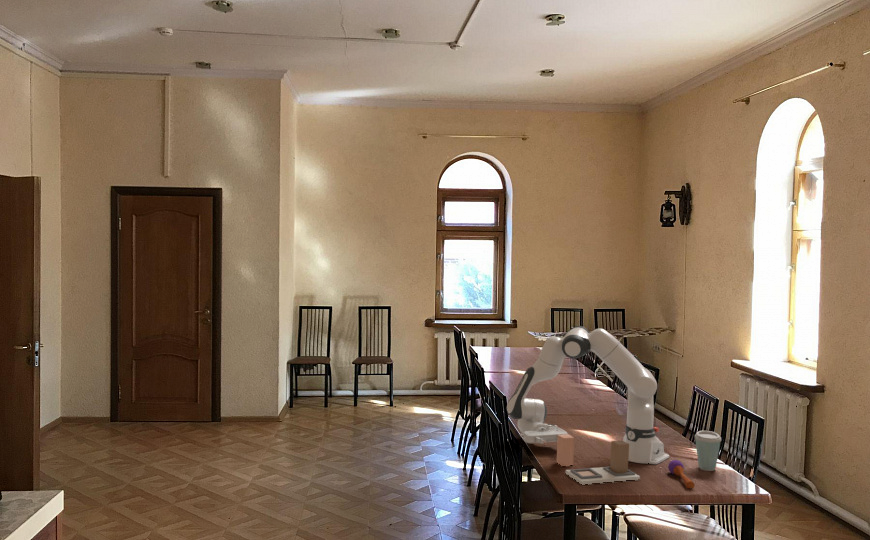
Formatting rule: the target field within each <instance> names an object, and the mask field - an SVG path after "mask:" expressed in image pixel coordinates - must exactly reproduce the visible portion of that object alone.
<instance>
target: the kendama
mask: <svg viewBox="0 0 870 540" xmlns="http://www.w3.org/2000/svg"><path fill="white" fill-rule="evenodd" d="M667 468H668V471H669V472H670V474H672V475H674V474H675V475H674V476H678V477H679V476H680V478H681V479H682V481H683V483H684V485H685V488H686V489H687V488H693V489H694V488H695V485H696V484H695V482H693V480H691V479H690V478H689V477H687V475H685V474H684V471H685V469H684V468H685V467H684V464H683V463H682V462H681V461H680V460H678V459H672V460H671V461H670V462H669V463H668V466H667Z"/></svg>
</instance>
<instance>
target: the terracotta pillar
mask: <svg viewBox="0 0 870 540" xmlns="http://www.w3.org/2000/svg"><path fill="white" fill-rule="evenodd" d="M556 445H557V447H556V464H557V463H558V464H557V465H559V464H560V465H561V466H560V465H559V466H560V467H562V466H566V467H571V466H570V465H573V466H574V452H575V451H574V450H575V437H574V436H572V435H571V434H570V433H568V434H564V435H558V442H557V444H556Z"/></svg>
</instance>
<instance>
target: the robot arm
mask: <svg viewBox="0 0 870 540" xmlns="http://www.w3.org/2000/svg"><path fill="white" fill-rule="evenodd" d="M590 352H592V353H594V354H595V355H596V356H597V357H598V358H599V359H600V360H601V361H602V362H603V363H604V364H605V365H606V366H607V367H608V368H609V369H610V370H611V371H612V372H613V373H614V374H615V375H616V377H618V378H619V380H620V381H621V382H622V383H623V384H624V385H625V387H627V412H626V424H625V427H624V428H625V429H624V431H625V433H624V435H623V438H622V441H624V442H626V443H628V444H629V458H628V462H632V463H636V464H648V463H649V464H651V465H658V464H660V463H662V462H664V461H666V460H668V459H669V458H670V455H669V454H668V453H666V452H665V445H664V443H663V442H662V441H661V440H660V439H659V438H658V437H657V436H656V433H659V430H660V429H659V427H656V426H654V417H655V416H654V415H655V406H654V395H656V392H657V390H658V383H657V380H656V378H655V377H654V375H653V374H652V372H651V371H650V370H649V369H647V368H646V367H644V365H642V363H641V362H640V361H639V360H638V359H637V358H636V357H635V356H634V355H633V354H632V353H631V351H629V350H628V349H627V348H626V347H625V346H624V345H623V344H622V343H621V341H619V339H617V338H616V337H615V336H613V335H612V334H611V333H610V332H608V331H607V330H605V329H604V328H601V327H600V328H599V327H598V328H595V329H594V330H592V331H591V332H590V331H589V330H588V329H587V328H586V327H584V326H582V325H577V326H574V327H572V328H570V329H569V330H568V331H566V332H565V333H564V334H563V335H562V337H558V336H549V337H548V338H547V339H546V340H545V342H544V343H543V346H542V347H541V350H540V352H539V353H538V354H539V355H538V358H537V360H536V361H535V362H534V363H533V364H532V366H530V367H528V368H527V369H526V371H525V372H524V374H523V376H522V378H521V379H520V381H519V383H518V385H517V387H516V389H515V391H514V393H513V394H512V395H511V398H509V400H508V402H507V405H506V412H507V414H508V415H509V416H510V418H511V419H513V420H517V423H516V424H517V427H518V430H519V432H521V433H519V436H520V437H521V438H522V440H523V441H524V442H525V443H527V444H541V445H545V444H546V443H553V442H554V443H555V442H557V443H558V435H564V434H569V433H568V432H567V431H566V430H564V429H562V428H561V427H558V425H556V424H549V423H545V421H546V419H547V415H548V407H547V405H546V403H545V402H544V400H543V399H539V398H530V397H529V398H528V397H527V395H528V393H529V392H530V389H531V388H532V386H533V385H536V384H538V383H540V382H543V381H549V380H551V379H554V378H555V377H557V375H558V374H559V373H560V371H561V369H562V366H563V364H564V360H565V358H568V359H571V360H574V359H579V358H581V357H584V356H585V355H586V356H587V354H590ZM649 464H648V465H649Z"/></svg>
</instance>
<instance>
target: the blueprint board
mask: <svg viewBox="0 0 870 540" xmlns="http://www.w3.org/2000/svg"><path fill="white" fill-rule="evenodd" d="M610 443H611V445H610V463H609V466H600V467H588V468H586V467H585V468H574V469H573V468H572V469H565V473H566V474H565V475H567V476H568V475H569V476H568V477H570V478H571V479H572V478H573V480H574V479H575V480H576V481H575V480H574V481H575V482H577V483H578V482H579V483H578V484H580V485H581V484H582V485H581V486H584V485H585V484H588V485H593V484H592V483H600V484H604V483H603V482H612V483H615V482H614V481H623V482H627V481H626V480H635V481H639V480H638V479H640V480H641V476H640V475H639V474H637V473H636V472H634V471H632V470H631V469H629V461H628V458H629V444H628V443H626V442H624V441H623V439H621V440H611V442H610ZM585 486H586V485H585Z"/></svg>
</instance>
